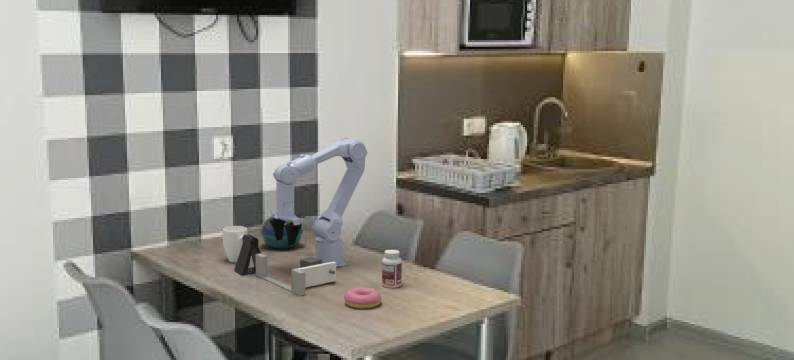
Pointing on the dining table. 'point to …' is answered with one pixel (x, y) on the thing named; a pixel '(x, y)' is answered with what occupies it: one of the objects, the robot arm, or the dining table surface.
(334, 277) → the door
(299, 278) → the grey u-shaped bar
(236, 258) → the mug
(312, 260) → the dark grey block
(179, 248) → the dining table surface
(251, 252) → the phone stand
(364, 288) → the doughnut
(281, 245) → the vase
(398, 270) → the pill bottle
